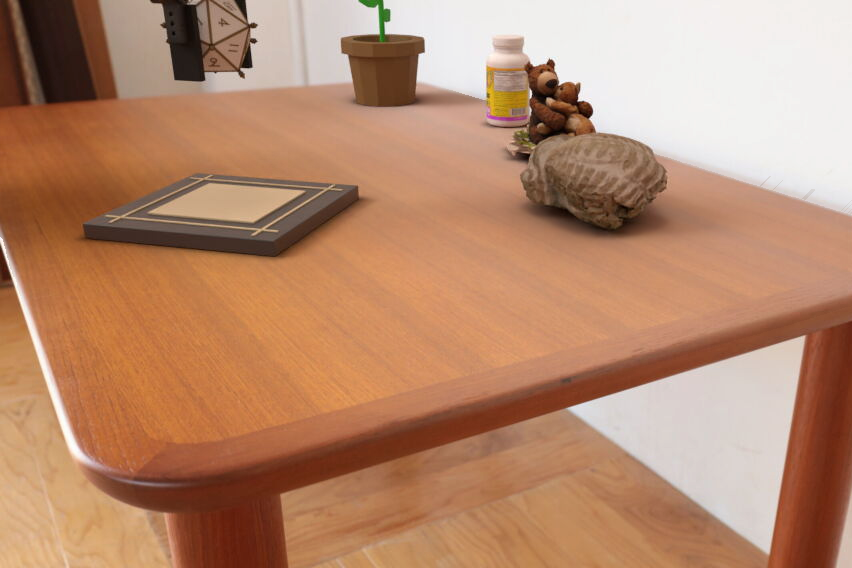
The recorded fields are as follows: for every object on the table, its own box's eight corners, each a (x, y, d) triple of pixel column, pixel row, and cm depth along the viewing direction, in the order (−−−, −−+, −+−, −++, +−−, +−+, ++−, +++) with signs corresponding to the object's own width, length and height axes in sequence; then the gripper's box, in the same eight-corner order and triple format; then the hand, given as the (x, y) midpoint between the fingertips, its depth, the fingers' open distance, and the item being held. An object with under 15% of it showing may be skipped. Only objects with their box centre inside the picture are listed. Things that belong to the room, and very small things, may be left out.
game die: (229, 120, 85) (220, 37, 77) (150, 83, 86) (132, -4, 77) (278, 64, 90) (275, -19, 82) (203, 30, 90) (192, -57, 82)
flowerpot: (355, 92, 162) (344, -92, 149) (433, 94, 161) (429, -91, 148) (333, 107, 149) (318, -93, 136) (418, 109, 148) (411, -93, 135)
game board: (84, 238, 86) (81, 221, 85) (197, 185, 104) (195, 171, 103) (275, 256, 82) (273, 239, 81) (359, 198, 100) (358, 183, 99)
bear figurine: (532, 173, 110) (534, 71, 105) (495, 147, 123) (495, 55, 118) (632, 166, 114) (639, 67, 109) (586, 141, 127) (590, 52, 122)
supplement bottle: (493, 118, 142) (493, 33, 136) (534, 121, 140) (535, 34, 135) (480, 126, 136) (480, 37, 131) (522, 129, 134) (524, 39, 129)
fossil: (499, 178, 101) (533, 94, 98) (599, 214, 106) (633, 135, 103) (548, 225, 85) (590, 126, 82) (662, 264, 91) (705, 172, 88)
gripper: (146, -225, 66) (189, 93, 75) (279, -191, 84) (300, 61, 94) (58, -222, 67) (111, 88, 77) (207, -190, 86) (235, 57, 95)
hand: (215, 73), depth 85 cm, fingers closed on game die, 8 cm apart
